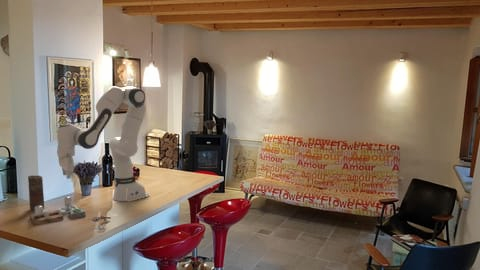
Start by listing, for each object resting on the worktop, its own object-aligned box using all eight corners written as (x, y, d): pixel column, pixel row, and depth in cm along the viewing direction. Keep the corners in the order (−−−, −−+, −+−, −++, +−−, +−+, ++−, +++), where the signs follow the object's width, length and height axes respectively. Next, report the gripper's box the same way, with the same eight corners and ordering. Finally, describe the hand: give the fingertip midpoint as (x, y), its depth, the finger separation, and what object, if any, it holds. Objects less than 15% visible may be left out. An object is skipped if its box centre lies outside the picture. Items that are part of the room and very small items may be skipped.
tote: (75, 207, 216) (75, 205, 216) (78, 211, 210) (78, 209, 210) (58, 210, 211) (58, 208, 211) (61, 214, 204) (61, 212, 204)
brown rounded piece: (31, 208, 214) (29, 174, 212) (45, 206, 217) (43, 173, 214) (28, 212, 207) (26, 177, 205) (43, 211, 210) (41, 177, 207)
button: (79, 212, 205) (78, 207, 204) (80, 213, 202) (80, 208, 202) (73, 213, 203) (73, 208, 202) (74, 214, 201) (74, 209, 200)
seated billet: (42, 219, 197) (41, 205, 196) (43, 221, 194) (43, 206, 193) (35, 220, 195) (34, 206, 194) (36, 222, 192) (35, 208, 191)
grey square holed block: (82, 213, 208) (82, 208, 207) (85, 216, 202) (85, 211, 202) (68, 215, 203) (68, 210, 203) (71, 219, 198) (71, 214, 198)
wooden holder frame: (58, 213, 206) (58, 209, 205) (63, 220, 196) (63, 216, 196) (30, 219, 197) (30, 214, 197) (33, 226, 188) (33, 221, 188)
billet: (71, 209, 213) (70, 195, 212) (72, 210, 210) (72, 197, 209) (64, 210, 211) (63, 196, 210) (65, 212, 208) (65, 198, 207)
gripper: (76, 155, 200) (77, 180, 202) (68, 149, 216) (68, 172, 218) (64, 156, 196) (64, 181, 198) (56, 150, 212) (56, 173, 214)
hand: (66, 176), depth 208 cm, fingers open, 8 cm apart
